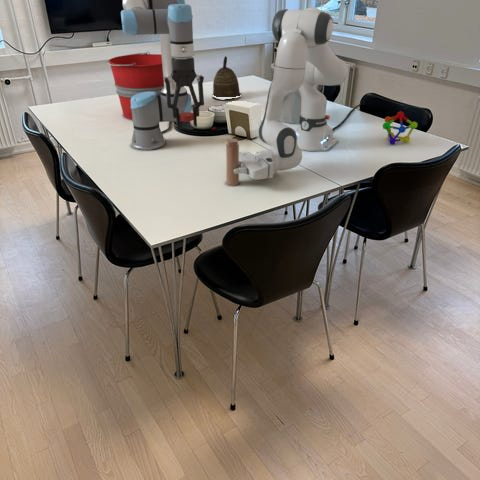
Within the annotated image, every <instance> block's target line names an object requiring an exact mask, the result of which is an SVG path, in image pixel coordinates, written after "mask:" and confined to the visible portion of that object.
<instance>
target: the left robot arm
mask: <svg viewBox="0 0 480 480" xmlns="http://www.w3.org/2000/svg"><path fill="white" fill-rule="evenodd" d="M122 8H123V9H122V10H121V11H120V18H121V26H122V32H123V34H124V35H126V36H138V35H139V36H140V35H141V36H143V35H159V42H160V55H162V67H163V79H164V88H163V89H162V90H161V95H157V94H156V92H153V91H152V92H150V91H148V92H142V93H138V94H136V95H134V96H132V98H131V109H132V117H133V120H132V125H133V132H132V135H131V147H132V148H134V149H135V150H141V151H151V150H153V151H154V150H157V149H161V148H163V147H164V146H165V144H166V140H165V137H164V135H163V133H166V132H168V131H169V130H171V124H172V122H176V124H175V125H176V127H177V129H180V128H181V126H180V125H181V124H180V122H181V121H179V113H181V112H192V113H194V120H193V123H192V124H193V126H194V127H195V128H197V127H198V119H197V117H200V107H202V106H205V97H204V96H205V95H204V84H203V83H204V80H205V77H204V76H203V75H202V74H197V73H196V69H195V58H194V56H195V51H194V32H193V31H194V30H193V29H194V28H193V18H194V17H193V16H194V15H193V11H192V6H191V5H190V4H186V1H185V0H122ZM195 79H196V81H197V89H198V98H197V95H196V91H195V89H194V85H193V83H194V81H195ZM187 87H188V89H189V92H188V89H187ZM192 103H193V104H192ZM165 122H166V123H167V122H168V128H166V129H165V130H161V127H160V123H165Z"/></svg>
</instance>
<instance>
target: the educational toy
mask: <svg viewBox="0 0 480 480" xmlns="http://www.w3.org/2000/svg"><path fill="white" fill-rule="evenodd" d="M397 119H399V124H400V125H399V127H398V126H393V125H391V124H392V123H394V122H395V121H396V120H397ZM403 120H404V121H405V122H407V123H408V124H409V125H407V126H404V123H403ZM417 127H418V122H417V121H411V120H410V119H409V118H408V117H406V116H405V113H404V112H403V111H401V110H400V111H398V112H397V114H396V115H394V116H391V117H390V116H386V117H385V118H384V122H383V123H382V129H383V130H386V132H387V138H388V142H389V145H395V144H396V143H397V142H402V141H403V142H404V143H409V142H410V140H411V138H410V136H411V134H412V132H413V131H414V130H415V129H417ZM392 129H393V130H397V131H398V132H396V134H395V133H394V132H392ZM408 129H409V131H408V133H407V134H406V135H404V136H401V134H403V133H405V132H406V130H408ZM399 135H400V136H399Z"/></svg>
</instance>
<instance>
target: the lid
mask: <svg viewBox="0 0 480 480" xmlns="http://www.w3.org/2000/svg"><path fill="white" fill-rule="evenodd" d="M193 120H194V113H193V111H191V112H181V113H179V122H182V123H183V122H185V123H186V122H192V121H193Z"/></svg>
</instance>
